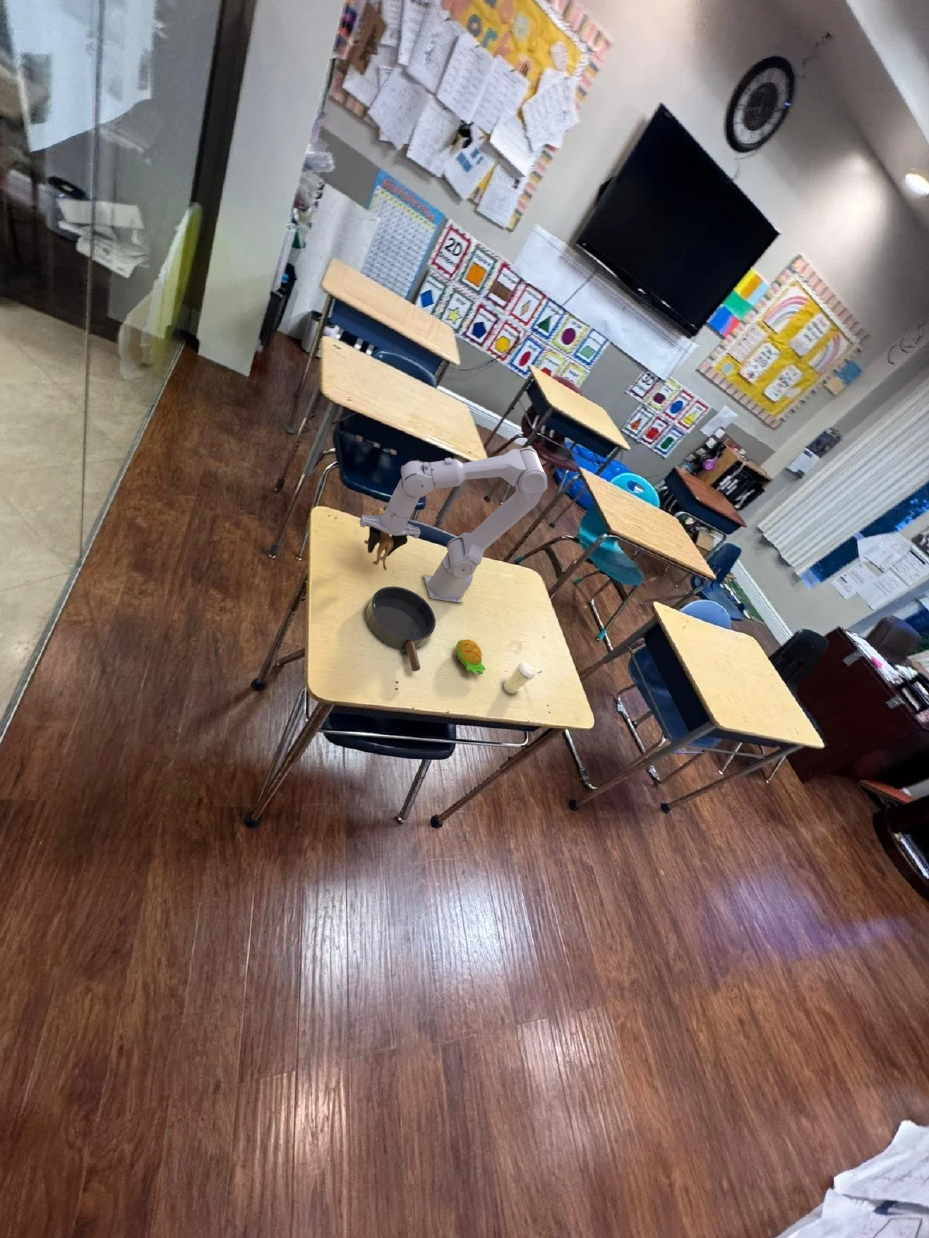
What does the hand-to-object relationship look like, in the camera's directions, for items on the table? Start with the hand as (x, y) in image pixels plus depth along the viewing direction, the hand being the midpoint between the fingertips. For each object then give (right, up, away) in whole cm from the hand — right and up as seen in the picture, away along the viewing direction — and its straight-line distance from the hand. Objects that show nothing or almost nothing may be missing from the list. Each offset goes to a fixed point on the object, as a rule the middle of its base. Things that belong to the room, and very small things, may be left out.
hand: (378, 551), depth 126 cm
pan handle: (+8, -27, -10) cm, 29 cm away
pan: (+5, -17, -3) cm, 18 cm away
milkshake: (+32, -34, +1) cm, 47 cm away
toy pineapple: (+21, -27, 0) cm, 35 cm away
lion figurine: (-2, 0, +1) cm, 2 cm away
